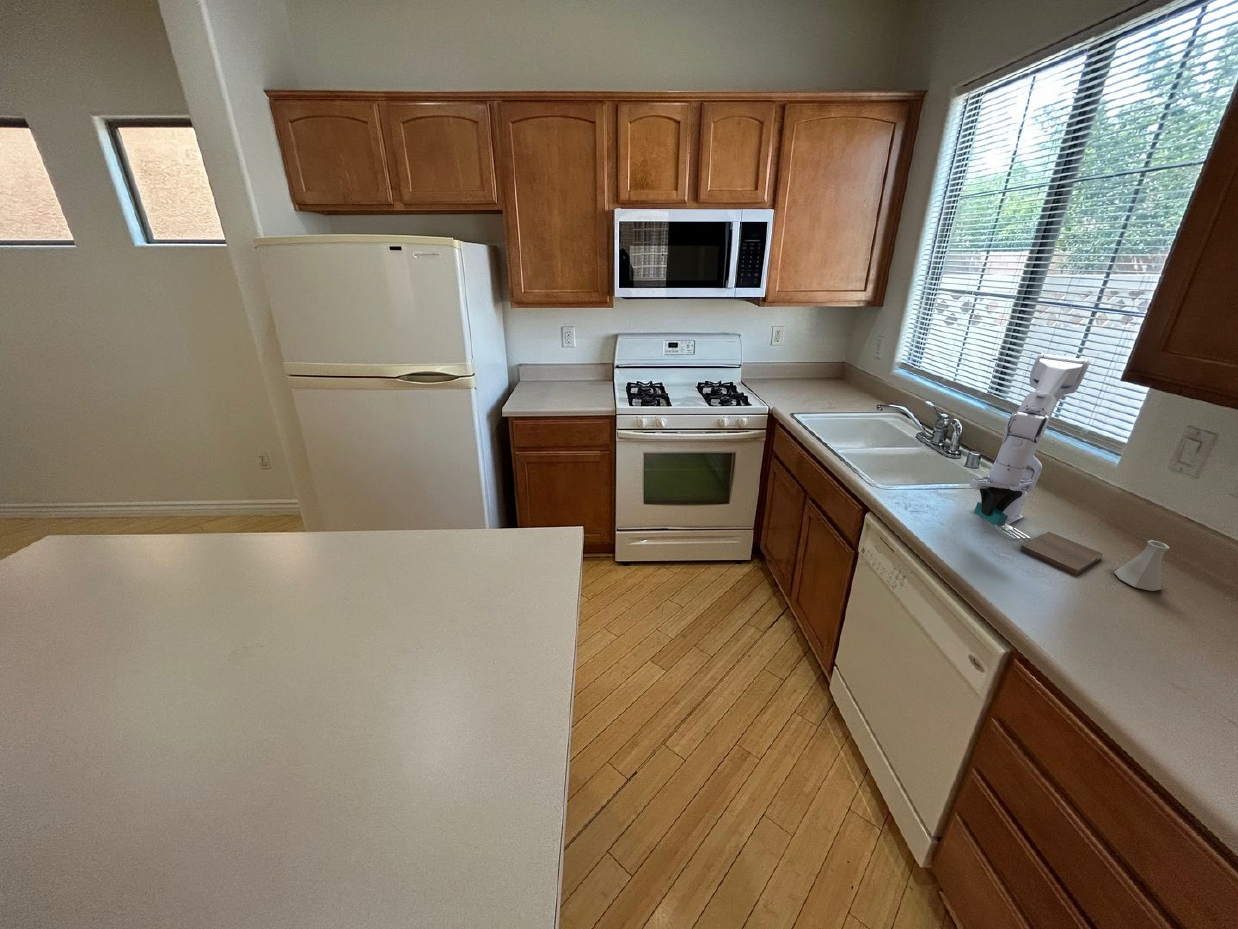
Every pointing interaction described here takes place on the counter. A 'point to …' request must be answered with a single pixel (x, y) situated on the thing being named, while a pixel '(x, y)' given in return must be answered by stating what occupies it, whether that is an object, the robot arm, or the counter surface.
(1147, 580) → the flask
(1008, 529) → the fork
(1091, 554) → the cutting board
